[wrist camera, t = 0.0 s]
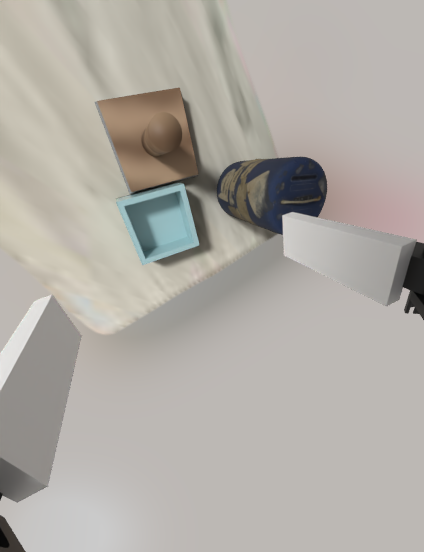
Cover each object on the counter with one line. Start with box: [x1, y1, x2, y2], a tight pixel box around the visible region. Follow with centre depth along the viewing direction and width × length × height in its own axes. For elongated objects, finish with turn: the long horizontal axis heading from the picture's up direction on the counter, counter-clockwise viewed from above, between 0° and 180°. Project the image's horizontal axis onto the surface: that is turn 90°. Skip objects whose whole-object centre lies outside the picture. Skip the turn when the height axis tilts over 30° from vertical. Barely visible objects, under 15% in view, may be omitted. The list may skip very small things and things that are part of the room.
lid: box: [97, 88, 198, 192], centre depth 28 cm, size 11×11×10 cm
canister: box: [217, 157, 327, 235], centre depth 33 cm, size 10×10×18 cm
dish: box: [116, 182, 199, 265], centre depth 35 cm, size 10×10×5 cm
